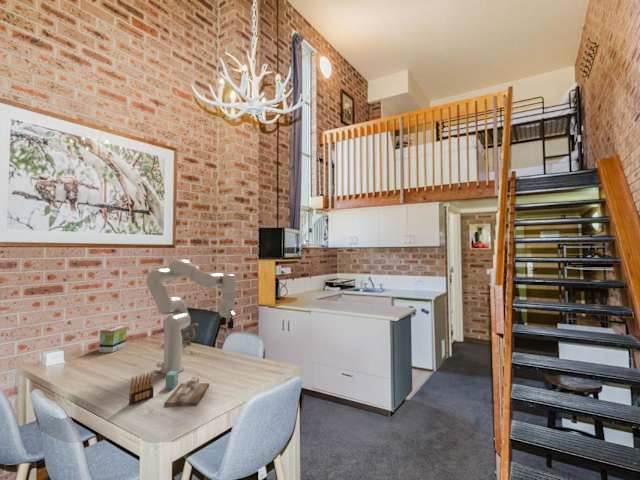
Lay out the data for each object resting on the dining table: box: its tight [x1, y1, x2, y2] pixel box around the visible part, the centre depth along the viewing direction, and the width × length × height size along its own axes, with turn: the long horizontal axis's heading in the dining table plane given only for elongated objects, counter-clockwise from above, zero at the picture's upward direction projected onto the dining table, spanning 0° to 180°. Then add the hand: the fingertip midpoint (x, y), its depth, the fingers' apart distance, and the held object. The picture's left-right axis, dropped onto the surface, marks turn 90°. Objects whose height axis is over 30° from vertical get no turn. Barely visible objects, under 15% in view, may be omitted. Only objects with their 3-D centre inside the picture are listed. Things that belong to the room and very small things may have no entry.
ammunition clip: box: [128, 371, 154, 406], centre depth 156 cm, size 11×2×12 cm, turn 149°
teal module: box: [165, 371, 179, 390], centre depth 172 cm, size 4×6×7 cm, turn 4°
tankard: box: [180, 322, 199, 345], centre depth 255 cm, size 20×13×15 cm, turn 81°
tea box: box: [98, 325, 128, 353], centre depth 235 cm, size 15×10×15 cm, turn 179°
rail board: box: [163, 376, 210, 407], centre depth 162 cm, size 14×22×5 cm, turn 4°
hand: (226, 326), depth 190 cm, fingers open, 9 cm apart
